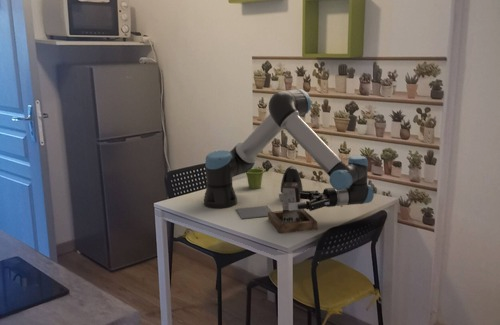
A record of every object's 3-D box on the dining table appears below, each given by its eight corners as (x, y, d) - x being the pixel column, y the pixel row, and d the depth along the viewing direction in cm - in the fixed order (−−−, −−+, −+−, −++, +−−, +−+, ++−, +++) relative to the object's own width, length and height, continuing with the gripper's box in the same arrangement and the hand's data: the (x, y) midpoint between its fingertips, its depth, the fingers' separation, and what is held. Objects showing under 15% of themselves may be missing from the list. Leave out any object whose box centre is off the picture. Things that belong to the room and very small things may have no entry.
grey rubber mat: (241, 219, 204) (241, 218, 204) (235, 209, 216) (235, 208, 216) (274, 215, 207) (274, 214, 207) (267, 206, 219) (266, 205, 219)
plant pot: (265, 185, 254) (265, 168, 252) (262, 190, 245) (261, 173, 243) (248, 184, 256) (247, 168, 254) (243, 189, 247) (243, 172, 245)
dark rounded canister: (302, 195, 235) (302, 164, 231) (302, 201, 225) (302, 169, 221) (281, 195, 236) (280, 164, 232) (280, 201, 226) (279, 169, 222)
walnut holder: (279, 233, 187) (279, 225, 186) (268, 219, 203) (268, 212, 203) (317, 229, 190) (317, 221, 189) (303, 215, 206) (303, 208, 206)
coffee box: (299, 228, 192) (298, 188, 188) (282, 227, 193) (281, 187, 189) (300, 220, 200) (300, 181, 197) (285, 219, 202) (284, 181, 198)
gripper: (347, 215, 187) (293, 221, 183) (323, 197, 211) (275, 201, 207) (347, 196, 185) (293, 201, 181) (323, 180, 209) (275, 184, 205)
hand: (283, 201), depth 194 cm, fingers open, 13 cm apart
